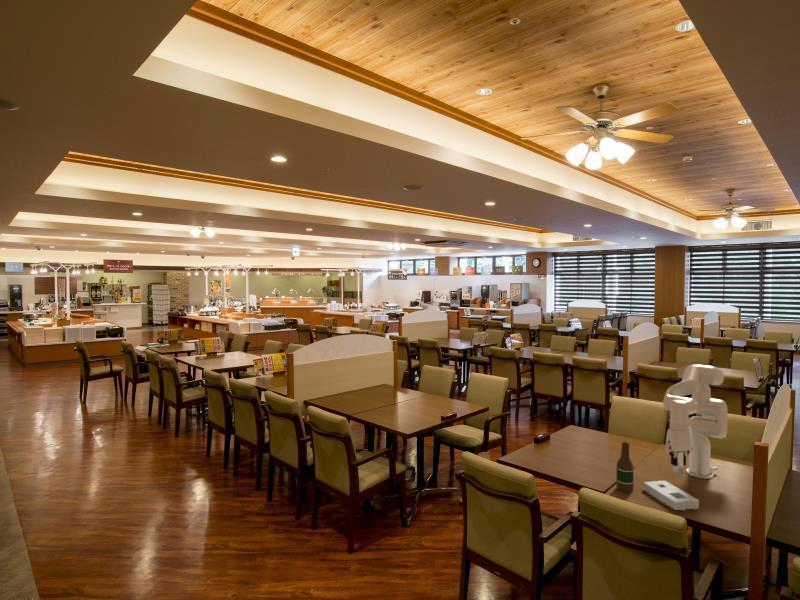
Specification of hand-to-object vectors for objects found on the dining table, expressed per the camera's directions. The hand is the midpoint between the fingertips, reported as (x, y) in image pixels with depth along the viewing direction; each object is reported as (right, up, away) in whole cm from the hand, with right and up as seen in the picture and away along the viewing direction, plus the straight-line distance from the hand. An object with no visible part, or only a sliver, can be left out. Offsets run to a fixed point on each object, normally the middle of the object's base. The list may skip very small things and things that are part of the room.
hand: (678, 464), depth 219 cm
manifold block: (-1, -19, +6) cm, 20 cm away
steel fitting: (0, -3, 0) cm, 3 cm away
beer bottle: (-18, -19, +16) cm, 30 cm away
